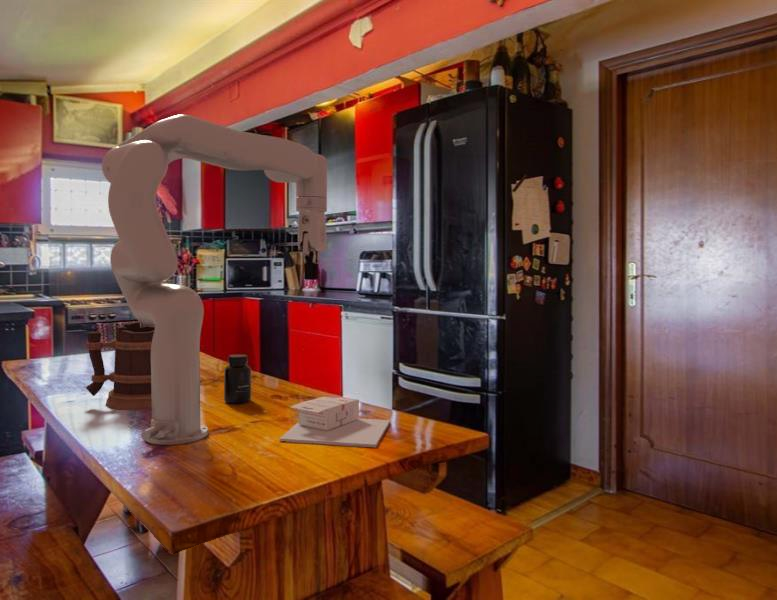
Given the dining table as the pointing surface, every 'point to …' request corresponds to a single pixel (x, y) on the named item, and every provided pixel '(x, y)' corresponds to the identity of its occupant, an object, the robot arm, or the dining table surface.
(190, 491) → the dining table surface
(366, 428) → the mat
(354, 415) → the ink cartridge box
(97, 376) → the mug
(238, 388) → the supplement bottle
